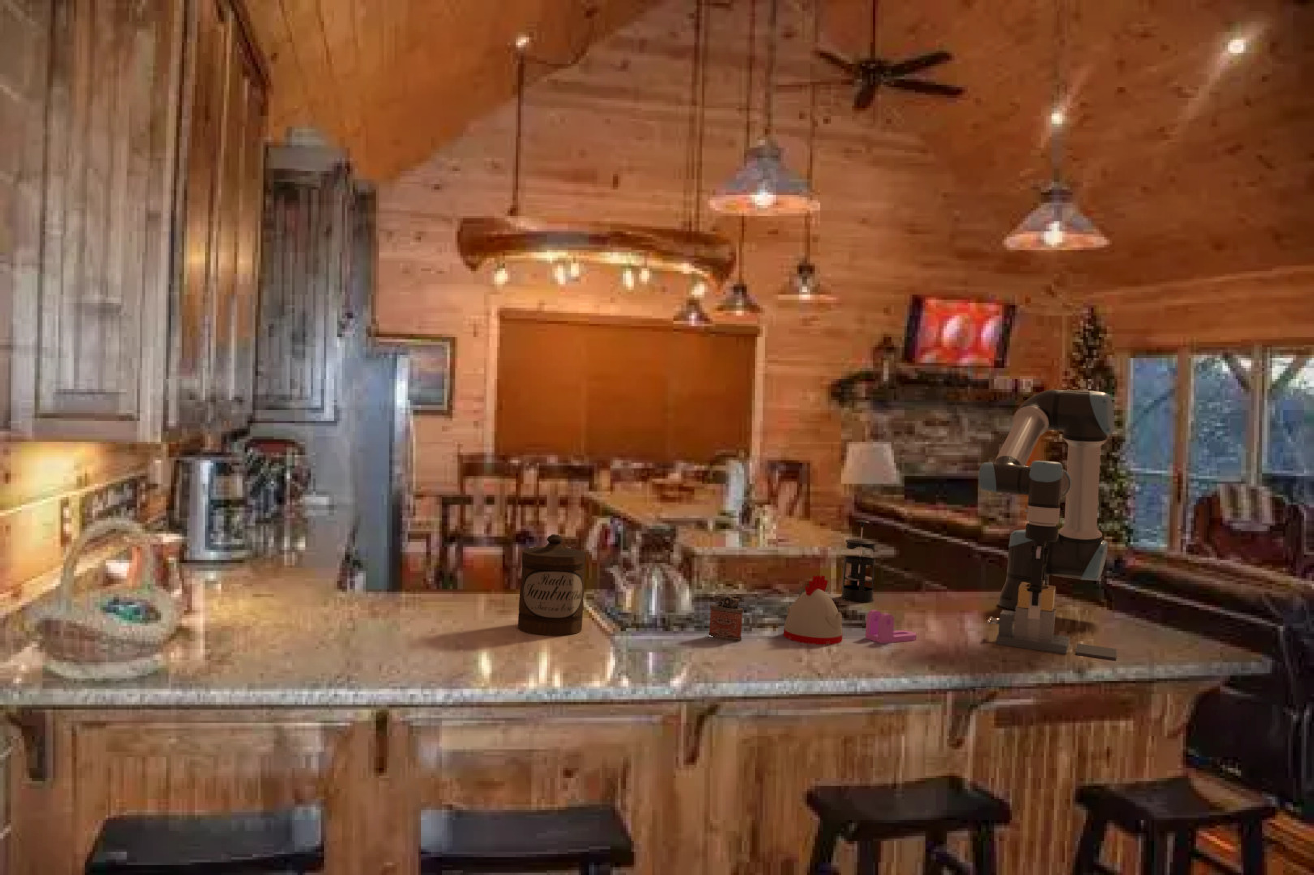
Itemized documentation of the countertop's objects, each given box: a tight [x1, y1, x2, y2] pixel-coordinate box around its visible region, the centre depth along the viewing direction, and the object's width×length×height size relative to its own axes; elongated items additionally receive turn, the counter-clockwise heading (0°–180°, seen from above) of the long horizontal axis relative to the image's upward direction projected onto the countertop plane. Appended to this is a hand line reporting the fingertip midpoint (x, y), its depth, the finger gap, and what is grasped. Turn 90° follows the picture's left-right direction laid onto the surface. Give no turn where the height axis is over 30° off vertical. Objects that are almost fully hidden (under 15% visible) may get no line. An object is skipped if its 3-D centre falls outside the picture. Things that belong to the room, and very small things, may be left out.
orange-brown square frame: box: [1017, 582, 1056, 611], centre depth 269 cm, size 8×8×5 cm
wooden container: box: [517, 533, 586, 637], centre depth 253 cm, size 15×15×22 cm
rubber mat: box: [1075, 643, 1117, 661], centre depth 264 cm, size 11×9×1 cm
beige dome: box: [783, 575, 843, 646], centre depth 261 cm, size 14×14×15 cm
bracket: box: [864, 609, 917, 644], centre depth 266 cm, size 13×6×7 cm, turn 121°
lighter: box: [708, 594, 744, 643], centre depth 254 cm, size 8×3×10 cm, turn 65°
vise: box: [986, 580, 1070, 655], centre depth 270 cm, size 12×19×16 cm, turn 67°
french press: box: [840, 519, 878, 603], centre depth 318 cm, size 12×9×23 cm
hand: (1035, 615), depth 269 cm, fingers closed on orange-brown square frame, 8 cm apart
